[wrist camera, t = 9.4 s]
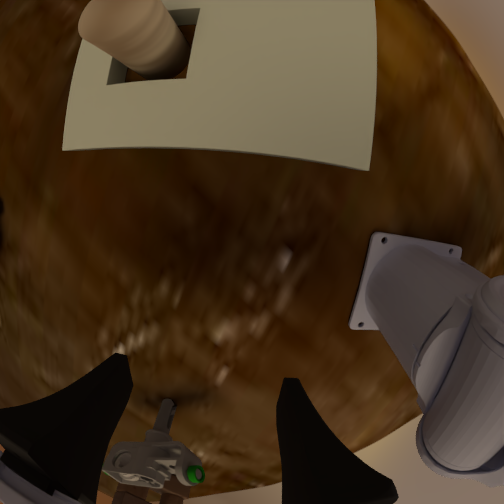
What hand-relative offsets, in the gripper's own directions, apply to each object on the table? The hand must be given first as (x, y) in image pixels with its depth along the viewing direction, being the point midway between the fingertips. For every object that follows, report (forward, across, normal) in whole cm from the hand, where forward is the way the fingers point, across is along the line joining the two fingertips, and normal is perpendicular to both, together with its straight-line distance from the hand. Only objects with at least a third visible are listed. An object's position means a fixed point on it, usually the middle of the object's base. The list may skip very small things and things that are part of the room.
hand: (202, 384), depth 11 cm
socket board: (+9, +2, -17) cm, 20 cm away
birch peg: (+9, +6, -17) cm, 20 cm away
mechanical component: (+10, +5, +14) cm, 18 cm away
